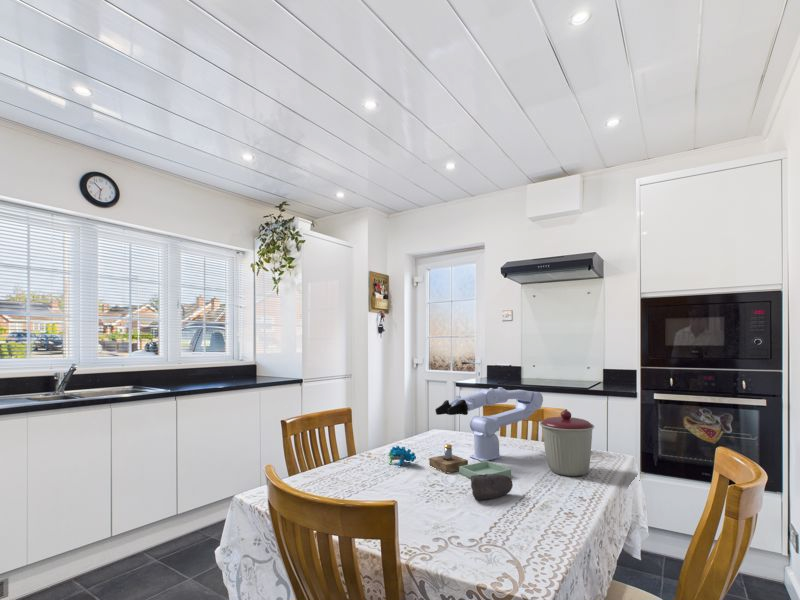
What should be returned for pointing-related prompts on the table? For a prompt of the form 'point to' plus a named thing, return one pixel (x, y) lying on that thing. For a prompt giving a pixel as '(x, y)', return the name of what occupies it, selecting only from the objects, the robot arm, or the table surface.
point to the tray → (484, 469)
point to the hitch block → (447, 463)
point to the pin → (448, 452)
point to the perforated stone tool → (490, 486)
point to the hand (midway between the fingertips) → (442, 412)
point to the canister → (567, 444)
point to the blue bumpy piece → (401, 455)
